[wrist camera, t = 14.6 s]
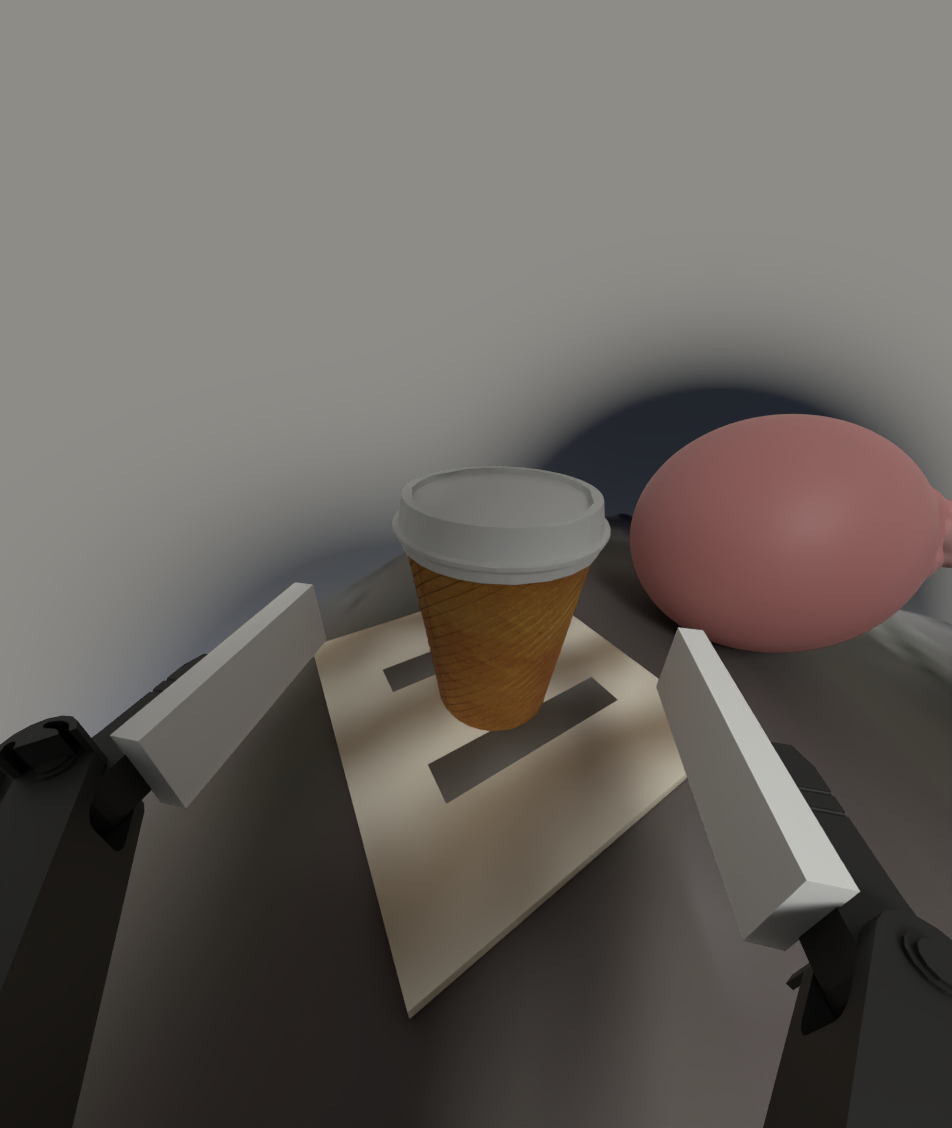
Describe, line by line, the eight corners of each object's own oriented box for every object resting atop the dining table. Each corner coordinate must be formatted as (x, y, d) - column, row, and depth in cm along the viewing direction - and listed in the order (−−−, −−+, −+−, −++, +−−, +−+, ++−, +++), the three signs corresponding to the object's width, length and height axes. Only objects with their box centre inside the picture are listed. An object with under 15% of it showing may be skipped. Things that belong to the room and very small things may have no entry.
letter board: (727, 743, 19) (732, 733, 18) (409, 1019, 11) (407, 1012, 10) (522, 586, 32) (523, 578, 32) (313, 655, 24) (311, 646, 24)
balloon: (1026, 786, 17) (1460, 467, 10) (600, 659, 24) (659, 420, 17) (872, 613, 29) (1010, 414, 22) (620, 563, 37) (659, 400, 29)
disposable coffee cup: (540, 626, 26) (561, 461, 20) (603, 745, 18) (670, 524, 12) (410, 640, 24) (392, 466, 19) (413, 778, 16) (383, 543, 10)
